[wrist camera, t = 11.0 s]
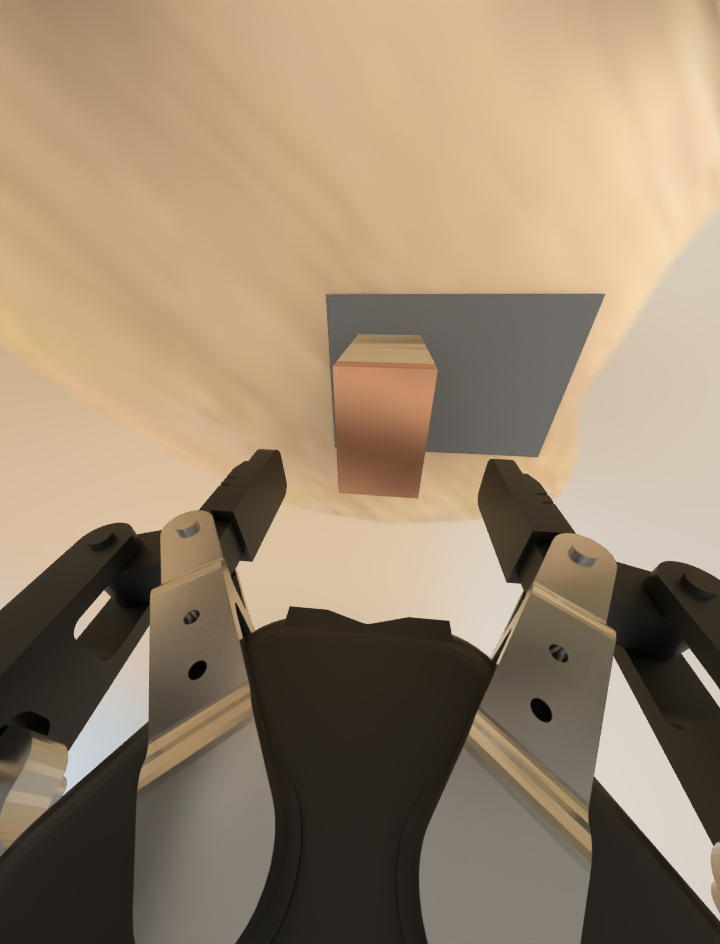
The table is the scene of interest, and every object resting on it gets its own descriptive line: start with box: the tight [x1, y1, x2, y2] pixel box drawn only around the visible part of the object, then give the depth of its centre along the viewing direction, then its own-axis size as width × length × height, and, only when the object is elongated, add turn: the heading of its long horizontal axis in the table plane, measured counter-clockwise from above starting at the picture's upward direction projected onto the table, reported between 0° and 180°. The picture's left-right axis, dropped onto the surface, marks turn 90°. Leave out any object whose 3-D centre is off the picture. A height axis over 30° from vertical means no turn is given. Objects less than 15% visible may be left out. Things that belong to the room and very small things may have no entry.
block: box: [333, 334, 438, 498], centre depth 18 cm, size 7×4×10 cm, turn 179°
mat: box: [326, 294, 605, 457], centre depth 22 cm, size 12×18×1 cm, turn 90°
